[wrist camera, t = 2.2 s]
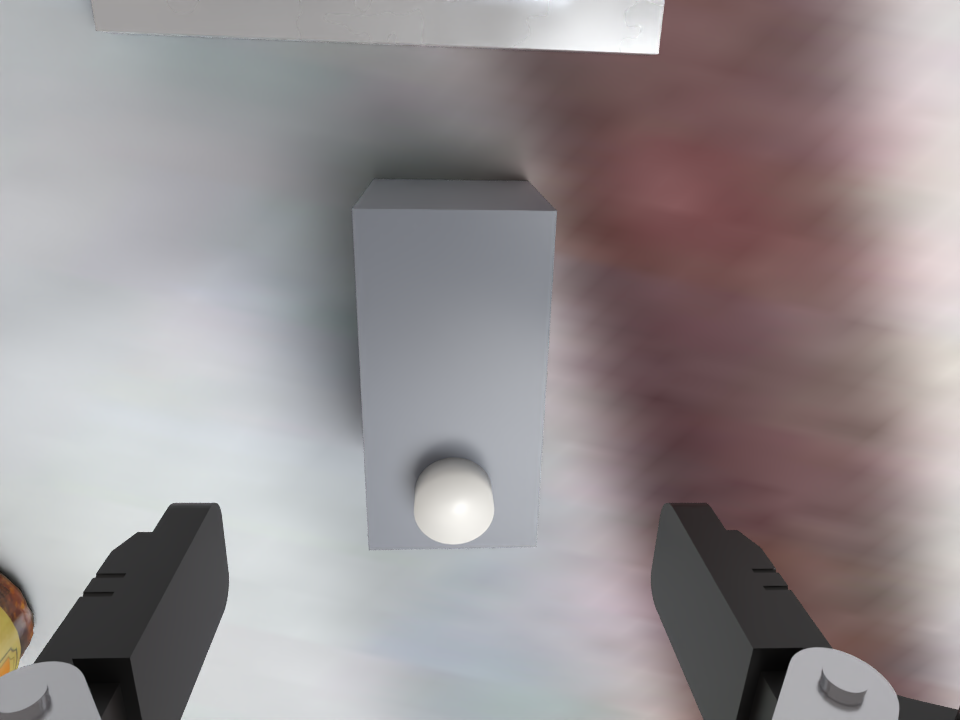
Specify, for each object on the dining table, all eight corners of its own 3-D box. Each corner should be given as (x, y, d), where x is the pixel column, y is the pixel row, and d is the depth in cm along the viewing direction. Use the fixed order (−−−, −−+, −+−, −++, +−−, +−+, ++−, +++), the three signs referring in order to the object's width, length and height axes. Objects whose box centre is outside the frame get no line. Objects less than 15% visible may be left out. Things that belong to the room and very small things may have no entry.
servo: (527, 180, 22) (563, 217, 16) (515, 448, 26) (541, 568, 20) (374, 178, 22) (346, 215, 16) (384, 449, 26) (365, 572, 19)
